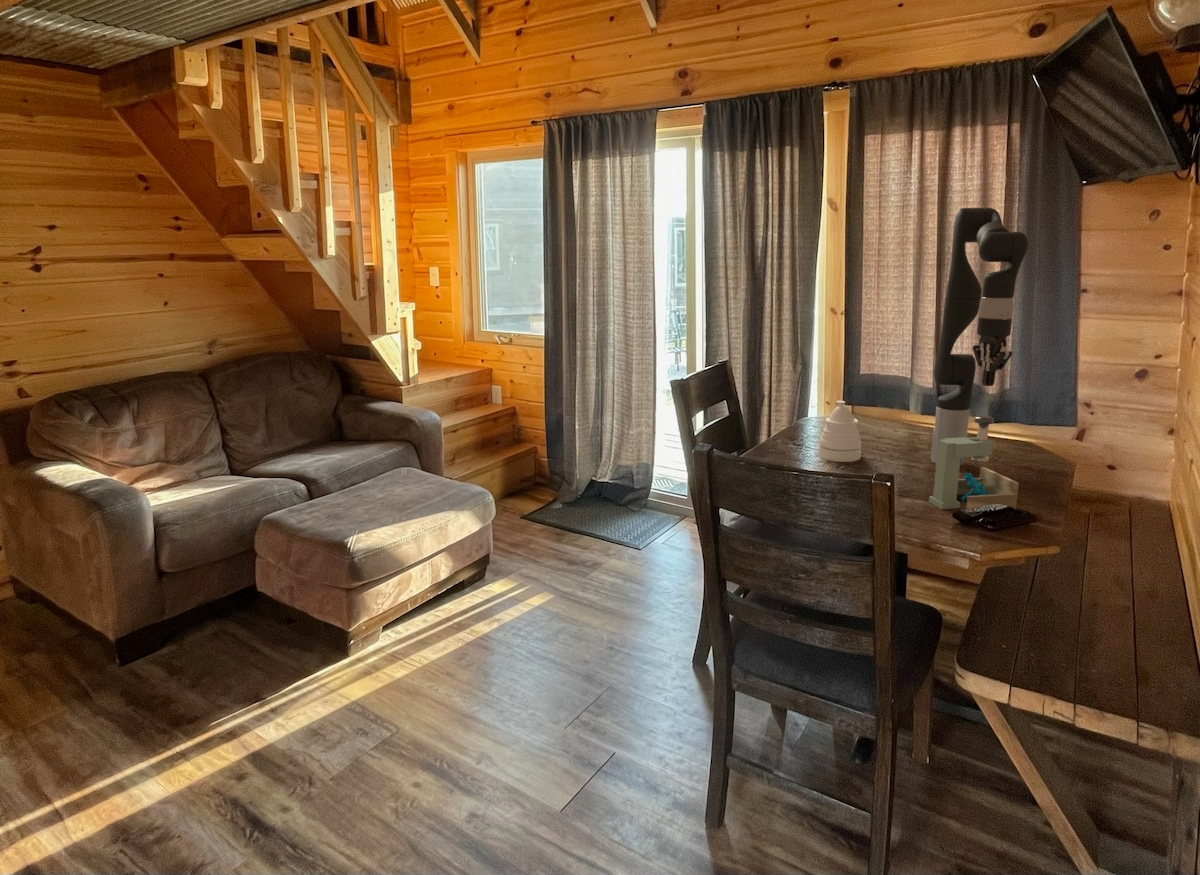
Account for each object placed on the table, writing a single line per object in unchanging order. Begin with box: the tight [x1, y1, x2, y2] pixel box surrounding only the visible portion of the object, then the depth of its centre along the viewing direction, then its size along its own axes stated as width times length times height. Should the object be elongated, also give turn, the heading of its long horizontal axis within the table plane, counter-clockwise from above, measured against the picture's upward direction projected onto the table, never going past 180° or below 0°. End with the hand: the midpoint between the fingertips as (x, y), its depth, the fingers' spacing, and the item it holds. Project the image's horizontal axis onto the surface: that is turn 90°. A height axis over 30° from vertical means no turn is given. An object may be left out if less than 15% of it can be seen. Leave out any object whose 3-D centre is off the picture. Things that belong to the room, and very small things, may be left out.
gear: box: [961, 472, 990, 502], centre depth 210 cm, size 11×6×10 cm
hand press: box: [928, 436, 994, 510], centre depth 206 cm, size 6×13×17 cm, turn 98°
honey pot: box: [817, 400, 862, 463], centre depth 251 cm, size 13×13×18 cm
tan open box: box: [957, 466, 1020, 511], centre depth 208 cm, size 14×13×7 cm
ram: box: [970, 415, 995, 463], centre depth 204 cm, size 4×4×11 cm
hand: (987, 385), depth 201 cm, fingers closed
